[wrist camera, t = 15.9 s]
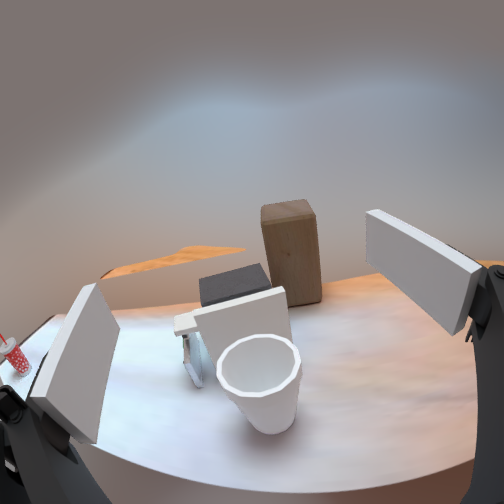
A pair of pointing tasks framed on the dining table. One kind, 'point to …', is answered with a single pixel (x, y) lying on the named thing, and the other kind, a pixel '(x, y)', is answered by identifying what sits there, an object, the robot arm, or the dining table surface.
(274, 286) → the wooden block
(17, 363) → the beverage cup
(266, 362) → the foam cup
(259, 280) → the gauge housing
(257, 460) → the dining table surface
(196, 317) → the gauge slider
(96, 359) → the robot arm
